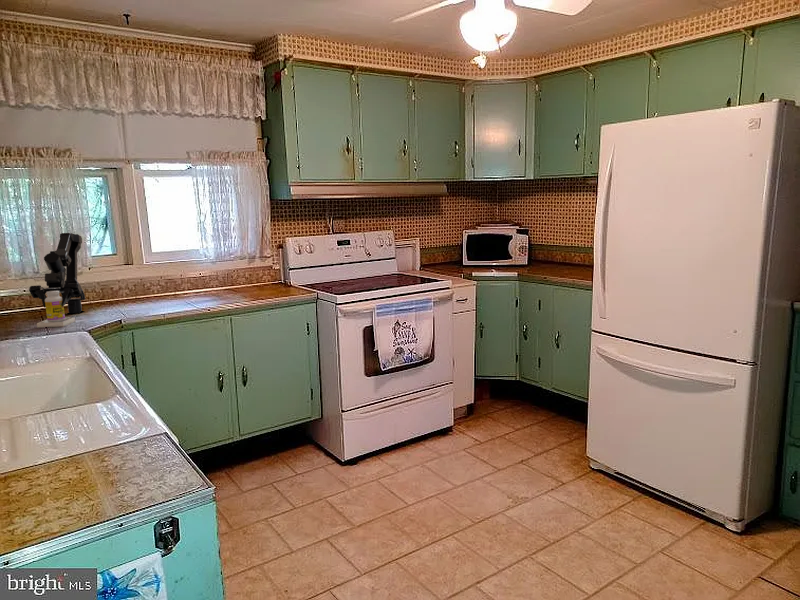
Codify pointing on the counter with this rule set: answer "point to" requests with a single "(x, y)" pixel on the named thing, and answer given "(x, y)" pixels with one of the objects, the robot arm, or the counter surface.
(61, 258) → the robot arm
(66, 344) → the counter surface
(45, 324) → the pocket tray
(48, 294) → the supplement bottle
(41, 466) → the counter surface
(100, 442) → the counter surface
